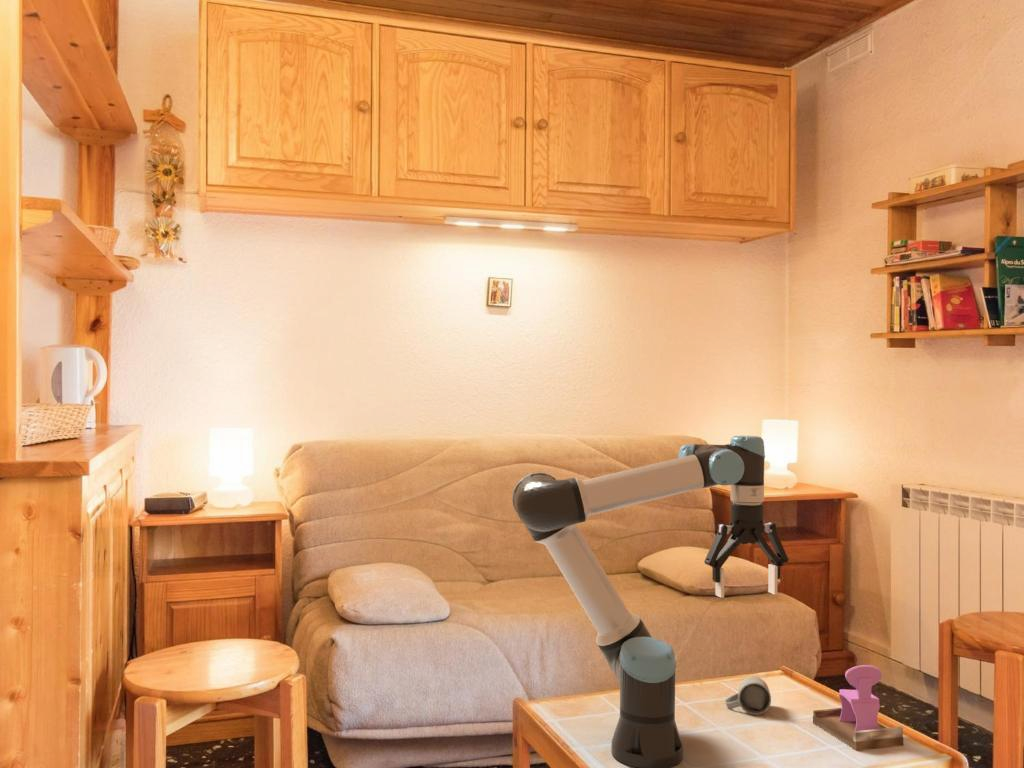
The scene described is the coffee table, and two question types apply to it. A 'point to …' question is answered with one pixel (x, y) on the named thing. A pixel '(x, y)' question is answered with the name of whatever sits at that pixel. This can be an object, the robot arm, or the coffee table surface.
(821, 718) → the shelf board
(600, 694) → the coffee table surface
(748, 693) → the ceramic mug
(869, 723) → the toy chair
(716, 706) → the coffee table surface
